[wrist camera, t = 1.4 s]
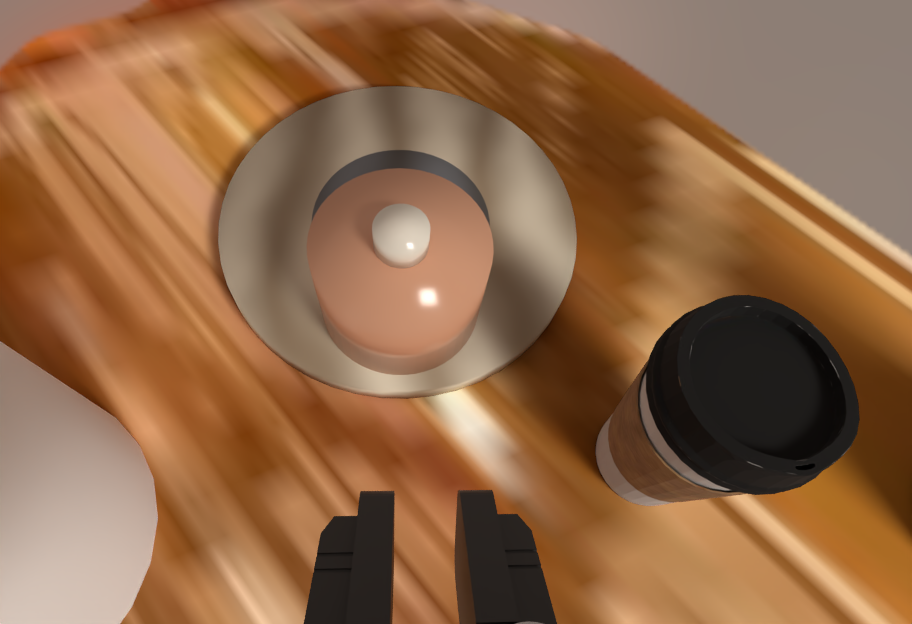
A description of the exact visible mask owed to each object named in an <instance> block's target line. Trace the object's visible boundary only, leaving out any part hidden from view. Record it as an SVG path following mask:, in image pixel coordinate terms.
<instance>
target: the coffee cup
mask: <svg viewBox="0 0 912 624" xmlns="http://www.w3.org/2000/svg"><path fill="white" fill-rule="evenodd" d="M858 424H859V406H858V400H857V396H856V391H855V387H854V384H853V382H852V380H851V377H850V375H849V372H848V370H847V368H846V366H845V364H844V363H843V361H842V359H841V358H840V356H839V354H838V352H837V351H836V350H835V349H834V347H833V346H832V345H831V343H830V342H829V341H828V340H827V338H826V337H825V336H824V335H823V334H822V333H821V332H820V331H819V330H818V329H817V328H816V327H815V326H814V325H813V324H812V323H811V322H809V321H808V320H807V319H805V318H804V317H803V316H801V315H800V314H799V313H797V312H796V311H794V310H792V309H790V308H788V307H786V306H784V305H783V304H780V303H777V302H775V301H772V300H769V299H766V298H761V297H756V296H750V295H733V296H729V297H724V298H720V299H717V300H715V301H713V302H711V303H709V304H707V305H705V306H701V307H698V308H696V309H694V310H692V311H690V312H688V313H686V314H684V315H683V316H682V317H681V318H679V319H678V320H677V321H675V322H674V323H673V324H672V325H671V327H669V328H668V329H667V330H666V331H665V332H664V333H663V335H662V336H661V337H660V338H659V339H658V341H657V342H656V344H655V346H654V348H653V350H652V352H651V355H650V357H649V360H648V361H647V363H646V364H645V365H644V367H643V368H642V370H641V371H640V373H639V374H638V376H637V377H636V379H635V380H634V382H633V383H632V385H631V386H630V388H629V389H628V391H627V392H626V394H625V395H624V397H623V398H622V400H621V401H620V403H619V404H618V406H617V407H616V408H615V411H614V412H613V414H612V415H611V416H610V418H609V419H608V420H607V422H606V423H605V424H604V425H603V427H602V429H601V431H600V433H599V435H598V439H597V443H596V459H597V464H598V467H599V470H600V473H601V474H602V476H603V478H604V480H605V481H606V483H607V484H608V485H609V486H610V488H611V489H612V490H613V491H614V492H616V493H617V494H618V495H619V496H621V497H622V498H624V499H626V500H627V501H630V502H632V503H635V504H638V505H645V506H655V505H663V504H669V503H674V502H685V501H693V500H701V499H709V498H717V497H725V496H733V495H741V494H746V493H748V494H754V495H760V494H775V493H779V492H784V491H787V490H791V489H794V488H798V487H801V486H802V485H804V484H806V483H807V482H809V481H811V480H813V479H814V478H816V477H817V476H818V475H819V474H820V473H821V472H822V471H823V470H824V469H826V468H828V467H829V466H831V465H832V464H833V463H834V462H836V461H837V460H838V459H839V458H841V457H842V456H843V455H844V453H845V452H846V451H847V450H848V449H849V448H850V446H851V445H852V443H853V441H854V439H855V437H856V435H857V431H858Z"/></svg>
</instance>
